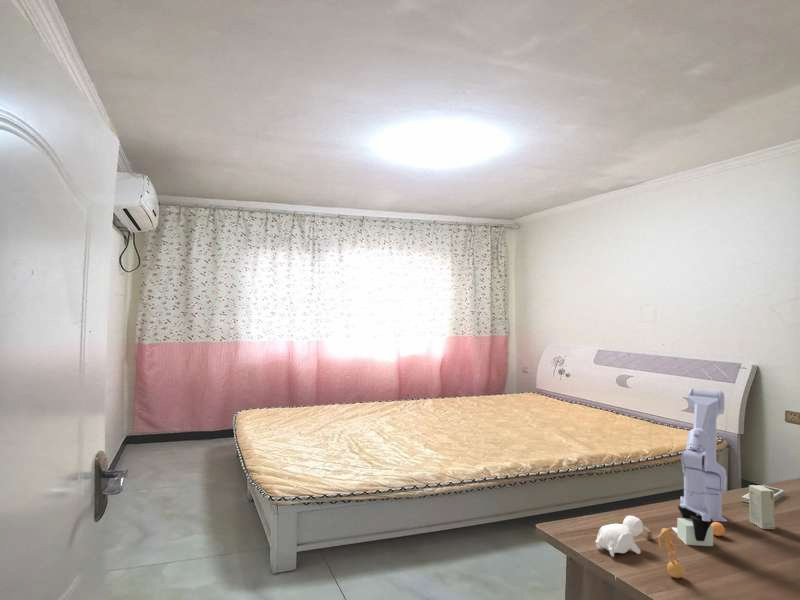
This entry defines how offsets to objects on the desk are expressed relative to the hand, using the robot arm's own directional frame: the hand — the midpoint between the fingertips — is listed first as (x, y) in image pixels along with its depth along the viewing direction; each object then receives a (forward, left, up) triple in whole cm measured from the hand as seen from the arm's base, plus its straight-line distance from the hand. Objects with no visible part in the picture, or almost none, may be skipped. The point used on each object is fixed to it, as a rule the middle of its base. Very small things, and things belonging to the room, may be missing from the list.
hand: (694, 535), depth 152 cm
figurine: (+22, -16, -2) cm, 27 cm away
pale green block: (0, 0, -2) cm, 2 cm away
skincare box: (-15, +28, -2) cm, 32 cm away
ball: (-5, +9, 0) cm, 10 cm away
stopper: (-5, -14, -2) cm, 15 cm away
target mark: (-5, +1, -2) cm, 5 cm away
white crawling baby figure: (+8, -24, -2) cm, 26 cm away
